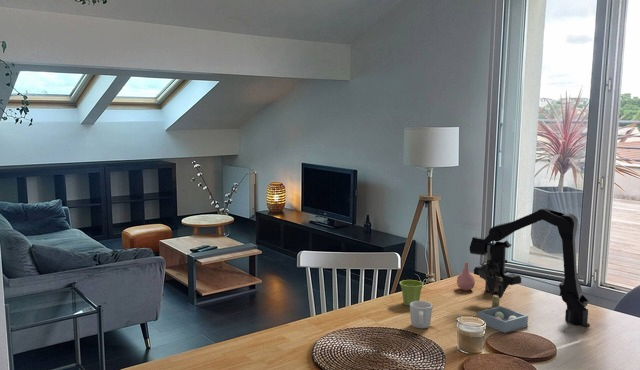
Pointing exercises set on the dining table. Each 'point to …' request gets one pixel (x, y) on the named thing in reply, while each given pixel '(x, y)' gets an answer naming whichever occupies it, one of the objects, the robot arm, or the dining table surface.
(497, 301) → the lid
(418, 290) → the plant pot
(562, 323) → the dining table surface
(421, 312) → the cup
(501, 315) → the ball sage
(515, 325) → the box
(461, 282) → the pink teardrop shape
